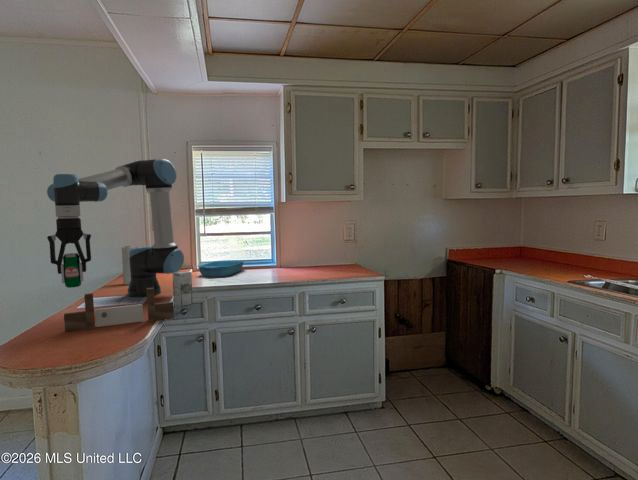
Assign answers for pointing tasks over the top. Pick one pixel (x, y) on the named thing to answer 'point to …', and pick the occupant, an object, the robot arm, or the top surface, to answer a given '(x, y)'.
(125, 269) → the pale grey tall block
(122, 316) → the gate
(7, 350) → the top surface
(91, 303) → the partition
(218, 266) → the casserole dish
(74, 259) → the soda can
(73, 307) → the top surface
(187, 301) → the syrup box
